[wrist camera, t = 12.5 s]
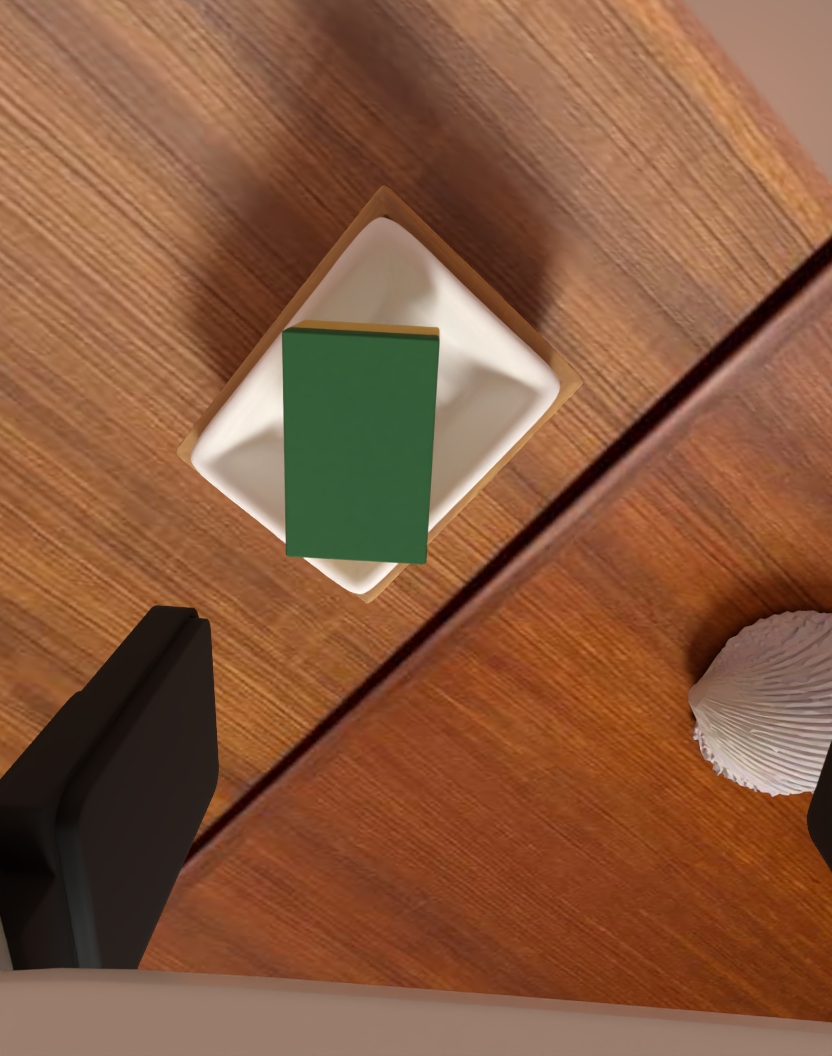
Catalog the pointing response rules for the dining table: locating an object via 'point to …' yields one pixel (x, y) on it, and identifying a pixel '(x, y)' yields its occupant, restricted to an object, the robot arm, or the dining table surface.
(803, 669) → the seashell
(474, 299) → the soap dish
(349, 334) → the scrub sponge
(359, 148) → the dining table surface
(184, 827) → the robot arm
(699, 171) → the dining table surface
